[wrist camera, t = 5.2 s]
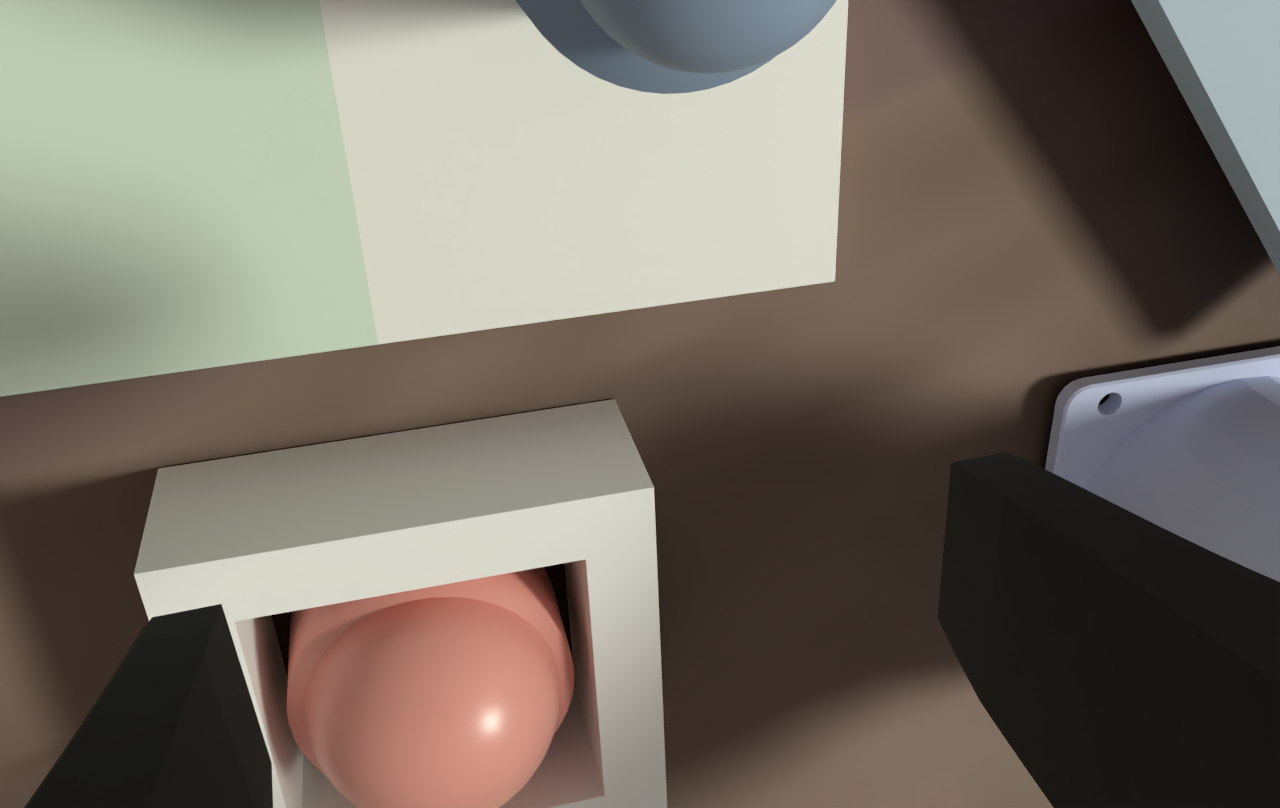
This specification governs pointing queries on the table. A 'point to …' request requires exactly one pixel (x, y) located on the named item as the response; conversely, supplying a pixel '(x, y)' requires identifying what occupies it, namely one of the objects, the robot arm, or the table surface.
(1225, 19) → the maze game
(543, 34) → the pawn
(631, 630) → the dome housing
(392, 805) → the dome
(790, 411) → the table surface
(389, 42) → the pale green flat slab
